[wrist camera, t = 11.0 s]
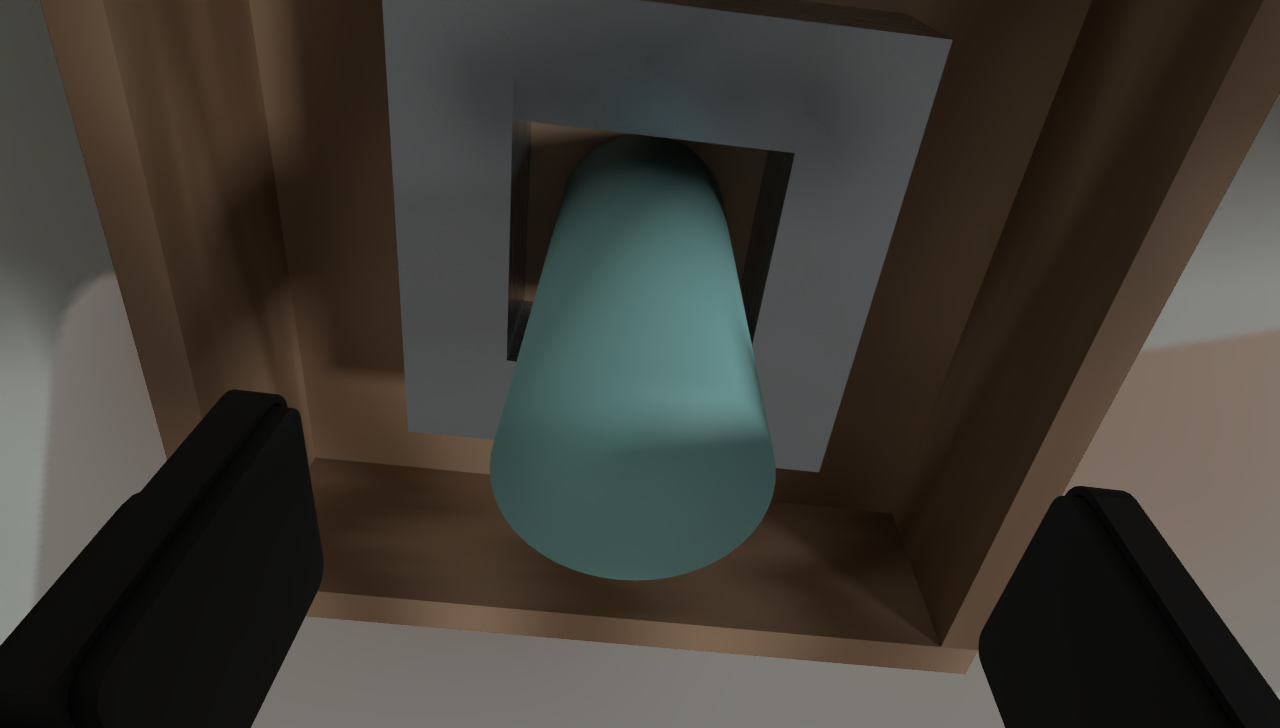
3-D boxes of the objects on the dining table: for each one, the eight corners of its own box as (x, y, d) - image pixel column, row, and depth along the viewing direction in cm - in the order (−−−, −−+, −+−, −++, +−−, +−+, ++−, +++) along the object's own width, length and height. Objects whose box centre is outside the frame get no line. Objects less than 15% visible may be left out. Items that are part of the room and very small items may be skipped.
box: (1205, -227, 15) (1478, -275, 10) (904, 517, 26) (965, 674, 21) (164, -378, 14) (-103, -514, 9) (298, 458, 25) (208, 607, 20)
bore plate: (908, 13, 17) (952, 39, 14) (800, 403, 22) (818, 472, 20) (423, -48, 16) (380, -33, 14) (436, 366, 22) (408, 431, 19)
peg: (736, 144, 18) (804, 378, 10) (709, 293, 20) (746, 591, 12) (567, 124, 18) (490, 345, 10) (557, 277, 20) (488, 568, 12)
